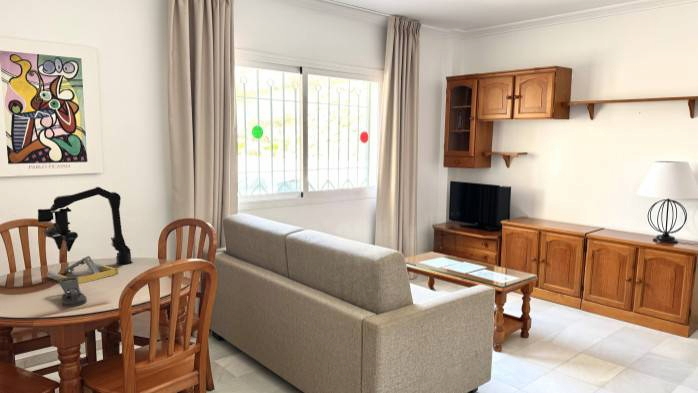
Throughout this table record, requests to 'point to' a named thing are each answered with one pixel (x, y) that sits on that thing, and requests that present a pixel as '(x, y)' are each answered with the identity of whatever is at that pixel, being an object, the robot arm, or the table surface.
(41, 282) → the table surface
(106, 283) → the table surface
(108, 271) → the guide channel
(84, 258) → the bracket
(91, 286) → the table surface
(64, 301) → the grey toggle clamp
